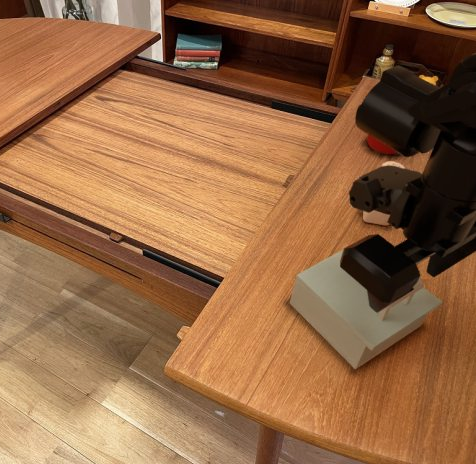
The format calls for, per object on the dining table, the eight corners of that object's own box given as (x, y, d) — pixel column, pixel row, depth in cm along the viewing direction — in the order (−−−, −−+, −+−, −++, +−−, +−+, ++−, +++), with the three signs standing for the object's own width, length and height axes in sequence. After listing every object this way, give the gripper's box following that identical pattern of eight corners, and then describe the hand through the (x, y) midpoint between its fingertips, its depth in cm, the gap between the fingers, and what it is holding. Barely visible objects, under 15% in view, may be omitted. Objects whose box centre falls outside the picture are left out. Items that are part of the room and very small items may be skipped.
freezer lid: (440, 306, 60) (456, 278, 57) (371, 351, 56) (384, 325, 52) (361, 242, 68) (371, 215, 64) (295, 278, 64) (302, 251, 60)
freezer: (420, 325, 64) (434, 301, 61) (355, 369, 60) (366, 346, 56) (352, 267, 71) (361, 243, 68) (289, 303, 67) (295, 279, 64)
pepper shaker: (389, 227, 77) (409, 178, 70) (362, 223, 78) (379, 173, 71) (388, 210, 80) (408, 161, 73) (362, 206, 80) (378, 157, 74)
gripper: (446, 110, 54) (402, 218, 65) (315, 170, 47) (290, 279, 58) (551, 164, 47) (481, 274, 58) (414, 242, 40) (364, 350, 51)
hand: (403, 291), depth 56 cm, fingers open, 9 cm apart
